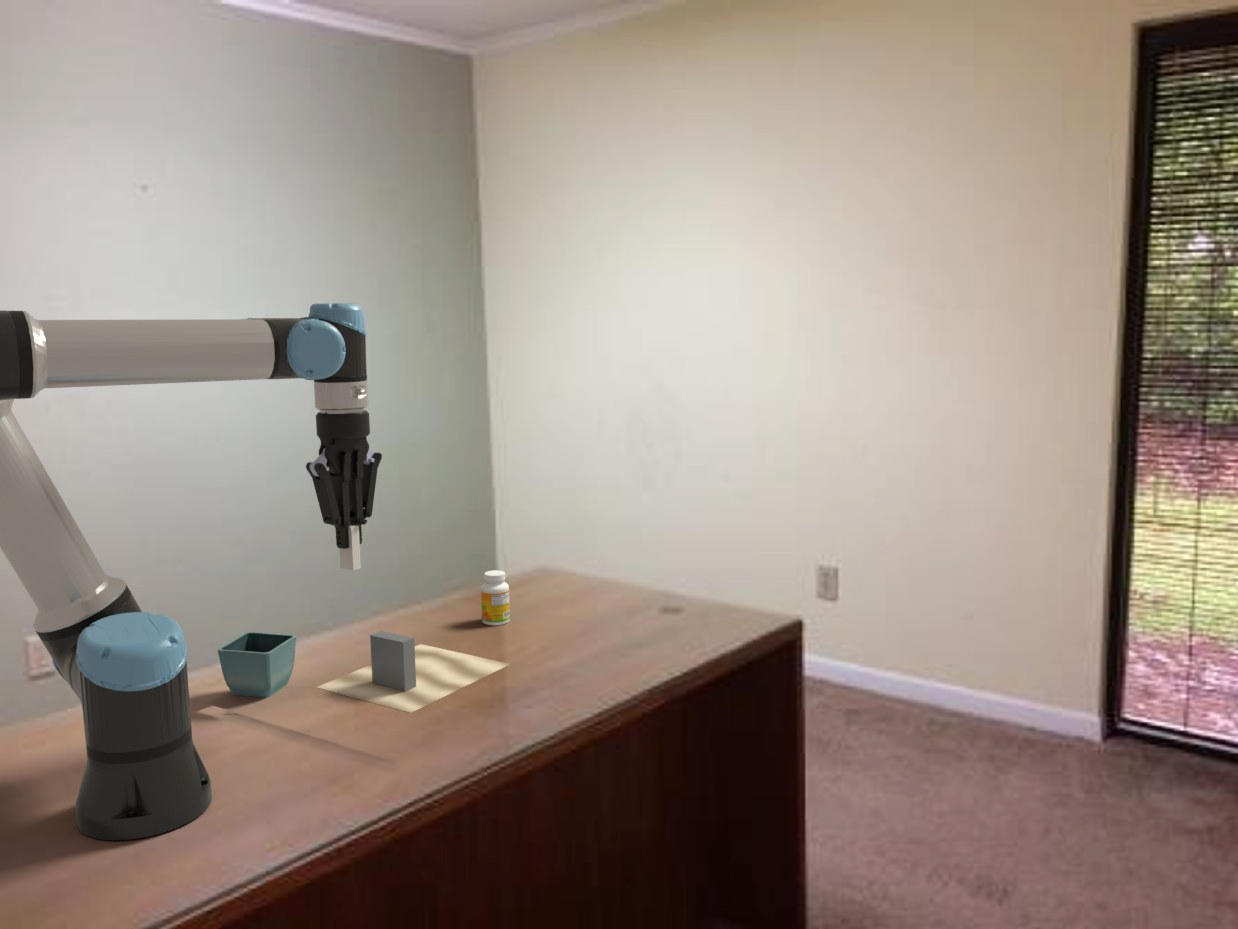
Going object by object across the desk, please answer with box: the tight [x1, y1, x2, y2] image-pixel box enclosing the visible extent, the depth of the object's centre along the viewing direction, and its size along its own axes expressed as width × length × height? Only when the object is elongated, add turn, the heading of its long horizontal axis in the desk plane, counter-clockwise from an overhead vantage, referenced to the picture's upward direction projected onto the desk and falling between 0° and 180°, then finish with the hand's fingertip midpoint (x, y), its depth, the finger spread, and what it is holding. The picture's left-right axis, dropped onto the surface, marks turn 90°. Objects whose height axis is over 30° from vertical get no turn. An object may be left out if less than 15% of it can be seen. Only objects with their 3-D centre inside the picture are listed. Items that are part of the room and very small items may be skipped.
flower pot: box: [217, 631, 297, 698], centre depth 162 cm, size 9×9×9 cm
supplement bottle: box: [480, 569, 511, 626], centre depth 199 cm, size 5×5×10 cm
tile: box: [369, 630, 416, 692], centre depth 163 cm, size 3×7×8 cm, turn 58°
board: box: [316, 643, 511, 714], centre depth 168 cm, size 24×20×1 cm
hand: (350, 567), depth 154 cm, fingers closed
